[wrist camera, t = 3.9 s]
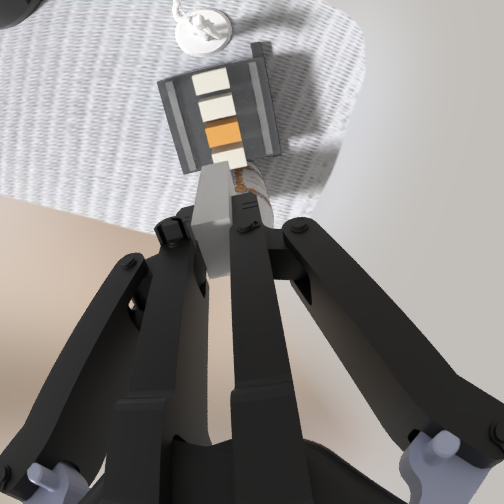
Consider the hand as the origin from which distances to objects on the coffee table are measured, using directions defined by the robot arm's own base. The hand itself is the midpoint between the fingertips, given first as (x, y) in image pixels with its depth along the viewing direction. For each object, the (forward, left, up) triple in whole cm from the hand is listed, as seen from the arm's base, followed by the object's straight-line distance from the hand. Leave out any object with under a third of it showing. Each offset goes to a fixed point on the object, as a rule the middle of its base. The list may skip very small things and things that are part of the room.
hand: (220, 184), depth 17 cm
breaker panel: (0, 0, -25) cm, 25 cm away
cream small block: (+4, 0, -19) cm, 19 cm away
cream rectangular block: (-5, 0, -19) cm, 20 cm away
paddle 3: (+1, 0, -19) cm, 19 cm away
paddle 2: (-2, 0, -19) cm, 19 cm away
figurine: (-11, 0, -25) cm, 28 cm away
